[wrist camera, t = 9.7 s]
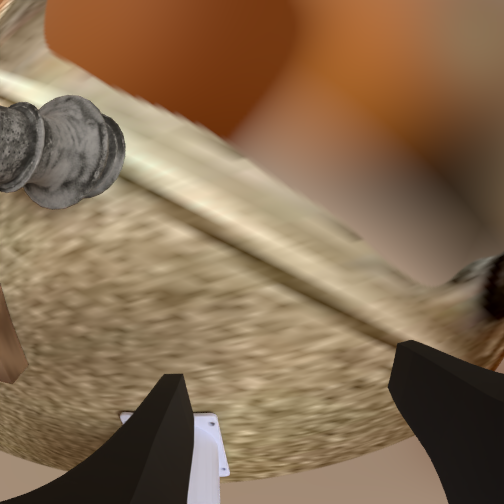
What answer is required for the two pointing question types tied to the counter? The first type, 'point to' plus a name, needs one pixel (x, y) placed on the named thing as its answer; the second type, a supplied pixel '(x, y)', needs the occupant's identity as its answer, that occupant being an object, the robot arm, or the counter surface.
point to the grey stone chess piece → (59, 151)
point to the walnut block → (9, 347)
